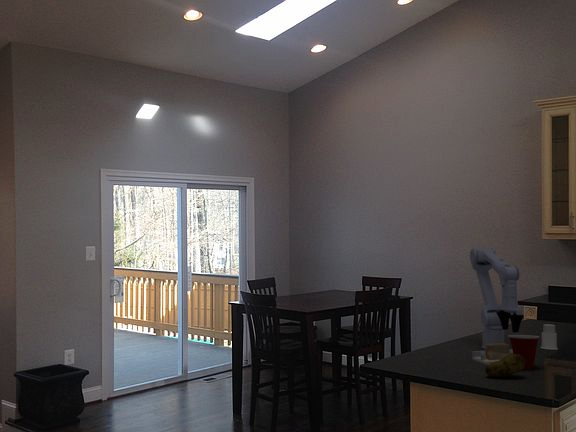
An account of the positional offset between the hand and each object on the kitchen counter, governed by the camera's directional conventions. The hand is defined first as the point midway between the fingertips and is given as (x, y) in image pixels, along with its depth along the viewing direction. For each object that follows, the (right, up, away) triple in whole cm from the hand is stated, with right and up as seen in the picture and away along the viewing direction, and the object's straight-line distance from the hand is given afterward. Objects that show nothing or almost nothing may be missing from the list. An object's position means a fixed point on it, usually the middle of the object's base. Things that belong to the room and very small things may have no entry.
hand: (510, 330), depth 255 cm
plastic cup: (-3, -10, -23) cm, 25 cm away
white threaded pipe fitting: (+21, -10, +13) cm, 27 cm away
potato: (-14, -9, -37) cm, 41 cm away
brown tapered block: (-9, -9, -11) cm, 16 cm away
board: (-7, -10, -9) cm, 15 cm away
